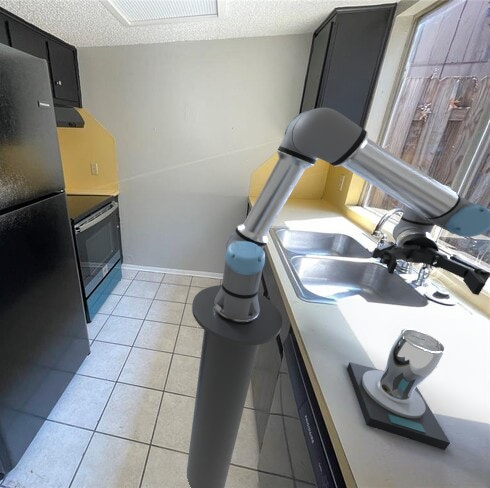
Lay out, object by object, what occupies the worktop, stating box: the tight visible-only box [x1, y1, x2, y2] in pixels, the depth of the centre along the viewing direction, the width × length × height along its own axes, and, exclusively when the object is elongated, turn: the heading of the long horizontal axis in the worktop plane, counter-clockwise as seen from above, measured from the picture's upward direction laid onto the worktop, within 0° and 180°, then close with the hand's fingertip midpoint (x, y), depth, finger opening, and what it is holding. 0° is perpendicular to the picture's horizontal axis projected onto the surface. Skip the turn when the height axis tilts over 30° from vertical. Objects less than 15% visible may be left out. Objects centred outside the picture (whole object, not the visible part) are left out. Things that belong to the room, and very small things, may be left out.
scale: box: [346, 361, 451, 451], centre depth 58 cm, size 15×13×3 cm
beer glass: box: [376, 328, 446, 404], centre depth 55 cm, size 7×7×15 cm
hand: (433, 278), depth 55 cm, fingers open, 13 cm apart
